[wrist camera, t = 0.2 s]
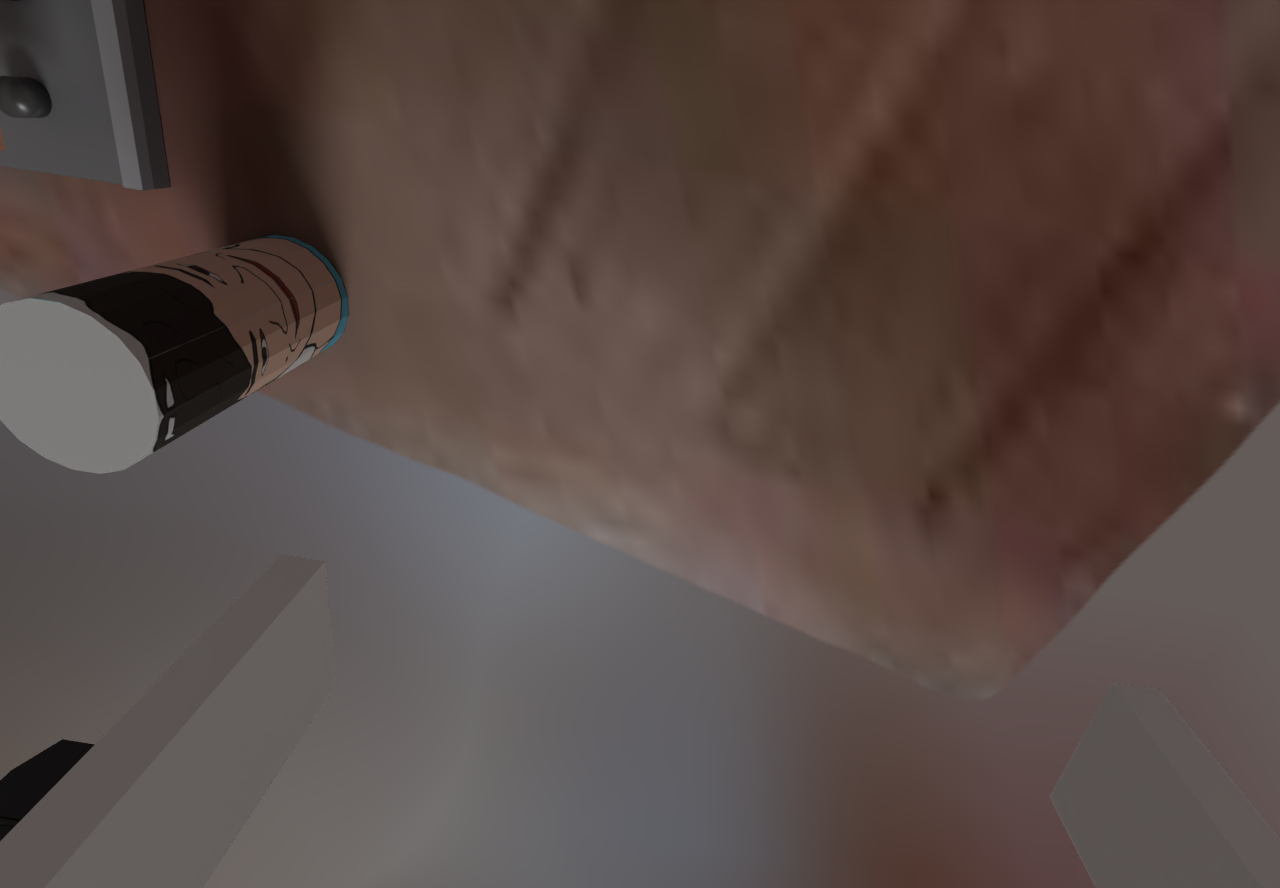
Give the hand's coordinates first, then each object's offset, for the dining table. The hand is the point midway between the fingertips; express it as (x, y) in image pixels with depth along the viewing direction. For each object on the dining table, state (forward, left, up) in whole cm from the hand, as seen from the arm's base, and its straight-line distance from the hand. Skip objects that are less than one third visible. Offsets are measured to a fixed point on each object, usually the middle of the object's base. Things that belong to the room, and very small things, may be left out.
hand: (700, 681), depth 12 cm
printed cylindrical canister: (+3, -23, -28) cm, 36 cm away
